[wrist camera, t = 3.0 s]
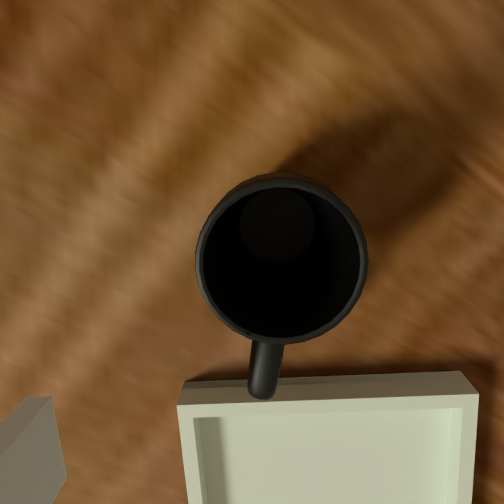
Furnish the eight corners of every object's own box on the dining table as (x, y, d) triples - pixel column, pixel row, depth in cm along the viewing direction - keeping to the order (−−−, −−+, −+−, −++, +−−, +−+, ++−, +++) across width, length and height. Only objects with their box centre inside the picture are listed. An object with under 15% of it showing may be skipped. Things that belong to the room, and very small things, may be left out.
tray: (184, 381, 34) (176, 405, 31) (460, 370, 33) (479, 393, 30) (205, 564, 38) (200, 600, 35) (450, 559, 37) (465, 595, 34)
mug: (201, 323, 33) (174, 398, 23) (225, 153, 30) (206, 163, 20) (314, 341, 33) (332, 424, 24) (351, 174, 30) (388, 194, 20)
